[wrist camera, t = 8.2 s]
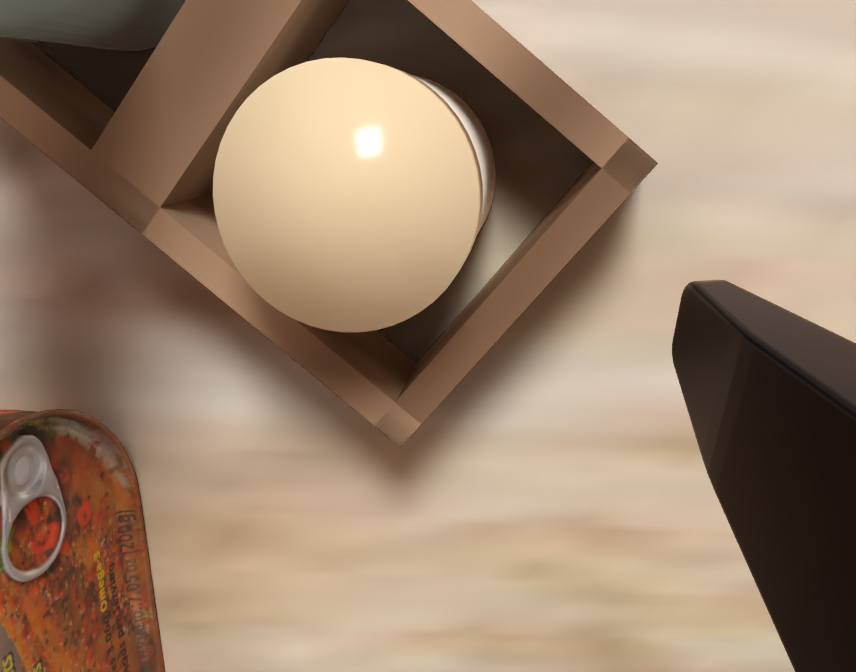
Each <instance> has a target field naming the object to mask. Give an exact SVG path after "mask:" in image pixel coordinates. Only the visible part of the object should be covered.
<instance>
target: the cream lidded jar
mask: <svg viewBox="0 0 856 672" xmlns="http://www.w3.org/2000/svg"><path fill="white" fill-rule="evenodd" d="M494 189H495V163H494V156H493V151H492V148H491V144H490V141H489V139H488V136H487V134H486V132H485V129H484V127H483V126H482V124H481V122H480V121H479V119H478V117H477V116H476V115H475V113H474V112H473V111H472V110H471V108H470V107H469V106H468V105H467V104H466V103H465V102H464V101H463V100H462V99H461V98H460V97H459V96H457V95H456V94H455V93H453V92H452V91H451V90H449V89H448V88H446V87H444V86H442V85H441V84H439V83H437V82H434V81H432V80H429V79H427V78H424V77H420V76H415V75H411V74H408V73H406V72H404V71H401V70H399V69H396V68H394V67H391V66H388V65H384V64H380V63H375V62H371V61H366V60H362V59H353V58H323V59H318V60H313V61H308V62H304V63H301V64H299V65H296V66H293V67H290V68H288V69H286V70H284V71H282V72H280V73H278V74H276V75H274V76H273V77H272V78H270V79H269V80H267V81H266V82H265V83H263V84H262V85H260V86H259V87H258V88H257V89H256V90H255V91H254V92H253V93H252V94H251V95H250V96H249V97H248V98H247V99H246V100H245V101H244V102H243V104H242V105H241V106H240V108H239V109H238V110H237V111H236V113H235V115H234V116H233V118H232V120H231V121H230V123H229V125H228V126H227V129H226V131H225V133H224V136H223V138H222V140H221V143H220V146H219V150H218V153H217V157H216V161H215V168H214V175H213V201H214V211H215V216H216V220H217V225H218V229H219V232H220V235H221V237H222V240H223V243H224V246H225V248H226V250H227V252H228V254H229V256H230V258H231V260H232V262H233V263H234V265H235V266H236V268H237V269H238V271H239V272H240V274H241V275H242V277H243V278H244V279H245V280H246V281H247V283H248V284H249V285H250V286H251V287H252V289H253V290H254V291H256V292H257V293H258V294H259V295H260V296H261V297H262V298H263V299H264V300H265V301H266V302H268V303H269V304H270V305H272V306H273V307H275V308H276V309H277V310H279V311H280V312H282V313H284V314H286V315H287V316H289V317H291V318H293V319H295V320H297V321H300V322H302V323H305V324H307V325H309V326H313V327H317V328H320V329H324V330H330V331H337V332H366V331H374V330H378V329H382V328H386V327H390V326H393V325H395V324H398V323H400V322H403V321H405V320H407V319H409V318H411V317H412V316H414V315H416V314H418V313H419V312H421V311H422V310H424V309H425V308H426V307H428V306H429V305H430V304H431V303H433V302H434V301H435V300H436V299H437V298H438V297H439V296H440V295H441V294H442V293H443V292H444V291H445V290H446V289H447V287H448V286H449V285H450V283H451V282H452V281H453V279H454V278H455V277H456V275H457V274H458V272H459V271H460V269H461V267H462V266H463V264H464V262H465V260H466V259H467V257H468V255H469V253H470V251H471V249H472V247H473V244H474V241H475V239H476V236H477V234H478V232H479V231H480V229H481V227H482V226H483V224H484V222H485V220H486V218H487V215H488V213H489V210H490V208H491V204H492V200H493V196H494Z"/></svg>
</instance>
